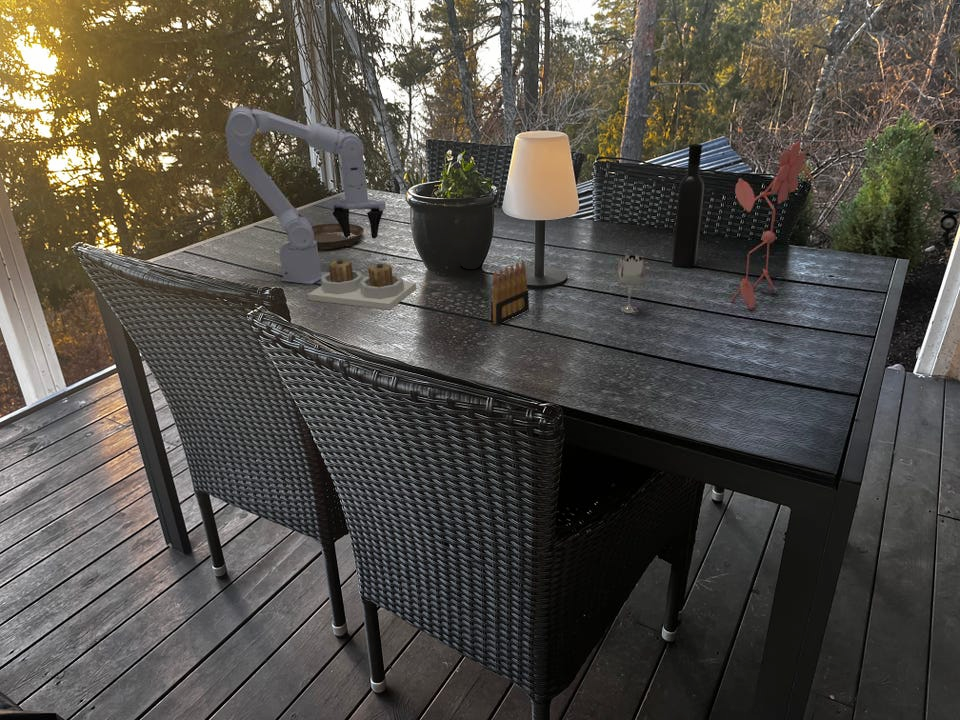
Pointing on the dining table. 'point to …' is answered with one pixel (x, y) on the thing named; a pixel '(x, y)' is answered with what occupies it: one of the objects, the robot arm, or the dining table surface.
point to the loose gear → (341, 271)
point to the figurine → (783, 183)
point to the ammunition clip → (509, 294)
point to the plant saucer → (335, 235)
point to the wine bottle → (689, 212)
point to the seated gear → (380, 275)
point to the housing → (362, 292)
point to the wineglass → (630, 276)
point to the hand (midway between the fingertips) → (361, 236)
